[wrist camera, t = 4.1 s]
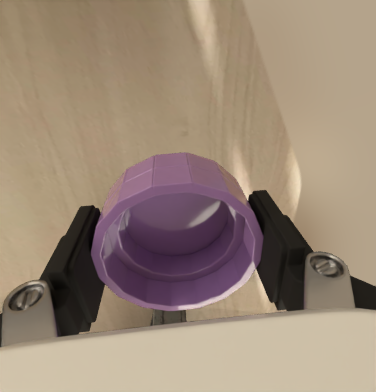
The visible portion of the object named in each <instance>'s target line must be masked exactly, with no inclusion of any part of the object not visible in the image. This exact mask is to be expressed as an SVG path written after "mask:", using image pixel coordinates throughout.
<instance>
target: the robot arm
mask: <svg viewBox="0 0 376 392" xmlns="http://www.w3.org/2000/svg"><path fill="white" fill-rule="evenodd" d="M248 202H249V204H250V206H251V208H252V210H253V212H254V214H255V216H256V218H257V221H258V223H259V226H260V228H261V231H262V233H263V235H264V239H263V247H262V254H261V261H260V263H259V265H258V266H257V268H256V269H257V272H258V274H259V277H260V279H261V281H262V284H263V286H264V289H265V291H266V294H267V296H268V298H269V301H270V302H271V303H273V302H274V303H275V306H276V308H277V310H285V309H286V310H287V311H286V312H276V313H266V314H257V315H247V316H238V317H228V318H219V319H209V320H200V321H191V322H182V323H173V324H164V325H155V326H146V327H138V328H129V329H120V330H112V331H103V332H95V333H86V334H79V332H86V331H90V327H91V323H92V322H95V321H96V318H97V314H98V310H99V306H100V302H101V298H102V294H103V290H104V285H105V284H104V283H103V282H102V281H101V280H100V279H99V277H98V274H97V271H96V268H95V266H94V263H93V260H92V257H91V248H92V243H93V238H94V233H95V229H96V225H97V223H98V220H99V217H100V215H101V214H100V210H99V208H95V207H94V206H93V205H92V206H81V207H80V208H79V210H78V212H77V214H76V216H75V218H74V220H73V222H72V224H71V225H70V227H69V229H68V231H67V233H66V235H65V236H63V237H62V238H61V239H60V241H59V243H58V245H57V247H56V249H55V251H54V253H53V255H52V256H51V258H50V260H49V262H48V264H47V266H46V268H45V270H44V272H43V273H42V275H41V277H40V279H39V280H32V281H29V282H26V283H24V284H22V285H20V286H18V287H17V288H15V289H14V290H13V291H12V292H11V293H10V294H9V295H8V296H7V297H6V299H5V301H4V304H3V313H1V314H0V392H376V286H373V285H371V284H368V283H366V282H364V281H362V280H359V279H357V278H354V277H352V276H350V274H349V270H348V267H347V265H346V264H345V263H344V261H342V260H341V259H340V258H338V257H337V256H334V255H333V254H330V253H326V252H313V250H312V249H311V247H310V246H309V245H308V244H307V242H306V240H304V238H303V237H302V235H301V234H300V232H299V231H298V230H297V228H296V227H295V225H294V224H293V223H292V221H291V220H290V218H289V217H288V216H286V215H283V214H282V212H281V211H280V209H279V208H278V207H277V205H276V204H275V202H274V201H273V200H272V198H271V197H270V195H269V194H268V192H267V191H266V190H260V191H253V193H252V194H250V195H249V199H248Z"/></svg>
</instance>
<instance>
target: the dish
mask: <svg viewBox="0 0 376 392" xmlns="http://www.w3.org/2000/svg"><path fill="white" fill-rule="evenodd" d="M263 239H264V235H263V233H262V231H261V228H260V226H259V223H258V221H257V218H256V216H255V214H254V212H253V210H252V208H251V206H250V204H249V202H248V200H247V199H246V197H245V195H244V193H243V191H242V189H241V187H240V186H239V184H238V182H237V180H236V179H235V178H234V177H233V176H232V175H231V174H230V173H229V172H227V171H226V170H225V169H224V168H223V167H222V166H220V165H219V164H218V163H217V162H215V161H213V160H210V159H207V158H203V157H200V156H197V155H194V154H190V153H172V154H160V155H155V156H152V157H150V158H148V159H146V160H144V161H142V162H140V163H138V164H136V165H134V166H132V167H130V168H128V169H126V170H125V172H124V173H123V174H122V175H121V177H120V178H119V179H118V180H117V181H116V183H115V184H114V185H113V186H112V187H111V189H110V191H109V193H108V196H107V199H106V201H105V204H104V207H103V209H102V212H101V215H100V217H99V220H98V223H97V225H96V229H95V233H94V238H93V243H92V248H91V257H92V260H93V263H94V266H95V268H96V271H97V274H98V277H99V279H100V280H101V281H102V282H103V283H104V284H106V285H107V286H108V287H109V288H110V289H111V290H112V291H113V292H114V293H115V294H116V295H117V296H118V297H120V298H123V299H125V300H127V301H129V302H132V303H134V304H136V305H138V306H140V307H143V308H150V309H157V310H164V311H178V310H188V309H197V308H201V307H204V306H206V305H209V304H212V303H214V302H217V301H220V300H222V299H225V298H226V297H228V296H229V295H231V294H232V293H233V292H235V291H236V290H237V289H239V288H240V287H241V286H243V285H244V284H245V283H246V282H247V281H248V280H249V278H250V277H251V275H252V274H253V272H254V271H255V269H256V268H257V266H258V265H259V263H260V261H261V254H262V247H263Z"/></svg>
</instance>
